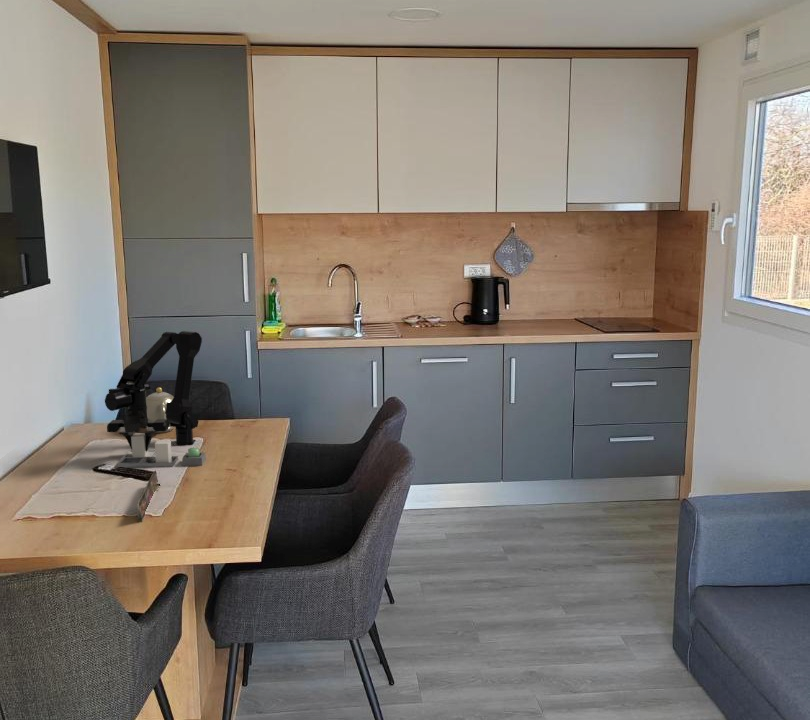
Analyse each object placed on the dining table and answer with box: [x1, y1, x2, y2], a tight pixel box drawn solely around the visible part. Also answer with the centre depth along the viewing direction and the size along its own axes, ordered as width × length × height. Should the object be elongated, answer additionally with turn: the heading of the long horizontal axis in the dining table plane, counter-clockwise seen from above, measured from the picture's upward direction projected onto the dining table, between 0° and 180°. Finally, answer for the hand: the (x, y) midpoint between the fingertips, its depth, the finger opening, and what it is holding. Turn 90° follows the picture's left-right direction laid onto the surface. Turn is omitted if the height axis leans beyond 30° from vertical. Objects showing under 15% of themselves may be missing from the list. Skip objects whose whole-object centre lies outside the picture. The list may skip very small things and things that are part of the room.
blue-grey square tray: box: [119, 449, 155, 461], centre depth 262 cm, size 10×10×1 cm
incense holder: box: [136, 469, 161, 523], centre depth 221 cm, size 30×1×5 cm, turn 8°
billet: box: [131, 432, 149, 457], centre depth 262 cm, size 4×4×7 cm
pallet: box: [116, 455, 179, 469], centre depth 253 cm, size 8×17×2 cm, turn 93°
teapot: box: [146, 387, 175, 434], centre depth 294 cm, size 18×14×16 cm
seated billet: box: [154, 439, 173, 463], centre depth 252 cm, size 4×4×7 cm
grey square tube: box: [181, 452, 207, 467], centre depth 253 cm, size 6×6×4 cm
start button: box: [187, 447, 200, 457], centre depth 253 cm, size 3×3×3 cm
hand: (140, 451), depth 262 cm, fingers closed on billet, 4 cm apart
